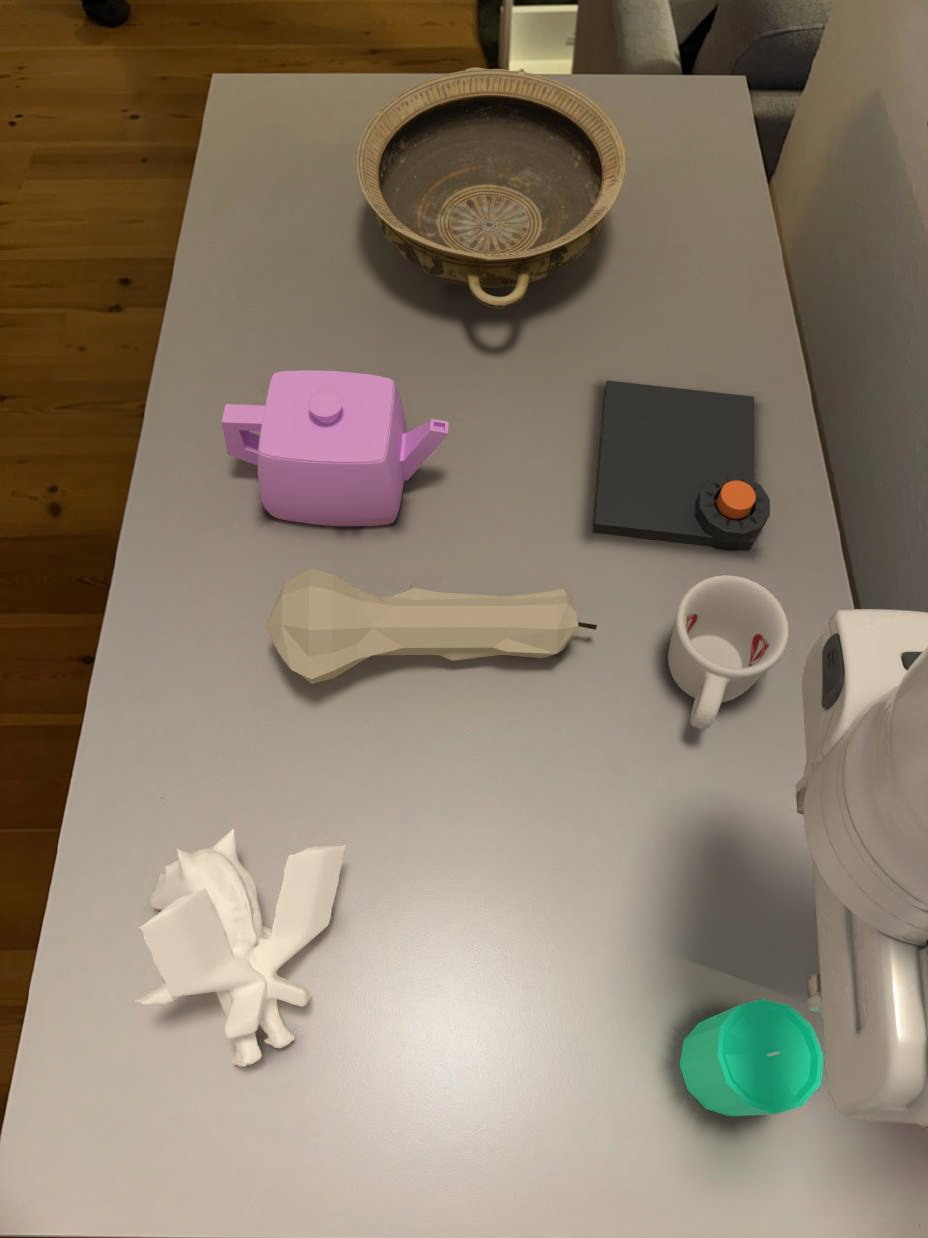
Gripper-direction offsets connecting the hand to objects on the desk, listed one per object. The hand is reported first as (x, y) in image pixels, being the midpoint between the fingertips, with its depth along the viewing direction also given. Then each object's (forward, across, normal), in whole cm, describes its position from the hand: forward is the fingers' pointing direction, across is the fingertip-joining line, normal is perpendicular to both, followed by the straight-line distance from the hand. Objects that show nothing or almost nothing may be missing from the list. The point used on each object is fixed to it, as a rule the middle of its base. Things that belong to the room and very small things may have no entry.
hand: (817, 895), depth 50 cm
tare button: (+19, +35, -2) cm, 40 cm away
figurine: (+22, -2, +32) cm, 39 cm away
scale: (+22, +41, +3) cm, 46 cm away
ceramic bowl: (+22, +65, +21) cm, 72 cm away
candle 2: (+22, +21, +22) cm, 37 cm away
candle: (+22, -7, 0) cm, 23 cm away
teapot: (+22, +37, +31) cm, 53 cm away
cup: (+22, +20, 0) cm, 30 cm away
